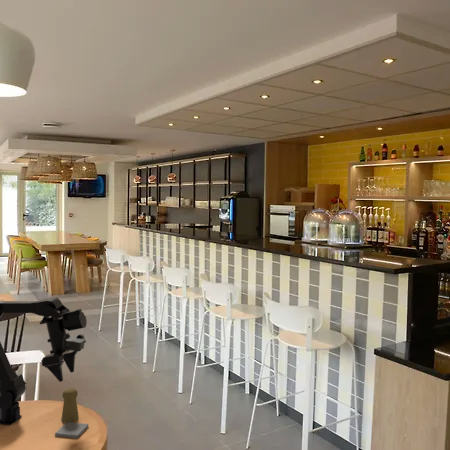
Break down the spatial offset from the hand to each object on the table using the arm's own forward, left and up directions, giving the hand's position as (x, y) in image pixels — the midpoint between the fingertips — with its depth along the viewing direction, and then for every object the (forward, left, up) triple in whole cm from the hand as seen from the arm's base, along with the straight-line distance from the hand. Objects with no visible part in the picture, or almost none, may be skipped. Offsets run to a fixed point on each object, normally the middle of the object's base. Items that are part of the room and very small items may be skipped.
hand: (67, 376), depth 161 cm
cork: (0, +3, -17) cm, 17 cm away
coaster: (+5, -5, -17) cm, 18 cm away
